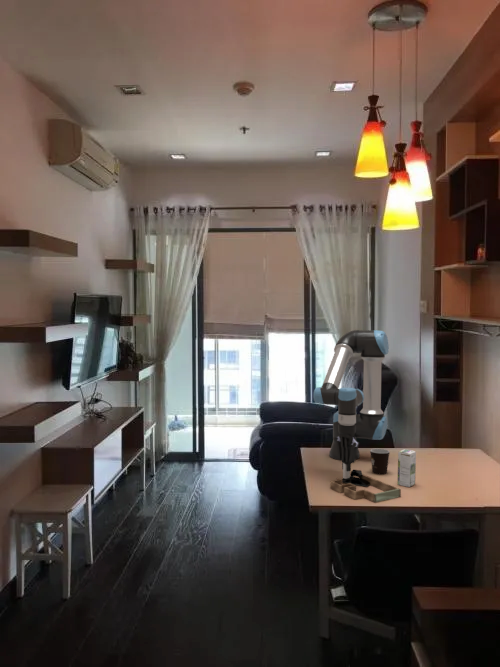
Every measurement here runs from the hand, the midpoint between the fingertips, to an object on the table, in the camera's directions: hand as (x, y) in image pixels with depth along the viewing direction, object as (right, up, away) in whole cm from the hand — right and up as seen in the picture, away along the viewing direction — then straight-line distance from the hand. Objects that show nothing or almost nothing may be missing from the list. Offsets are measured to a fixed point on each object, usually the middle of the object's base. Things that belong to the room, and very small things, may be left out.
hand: (346, 477), depth 233 cm
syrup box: (+25, -2, -3) cm, 26 cm away
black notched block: (+5, -4, -1) cm, 6 cm away
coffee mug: (+18, -2, +16) cm, 25 cm away
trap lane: (+5, -3, -12) cm, 13 cm away
